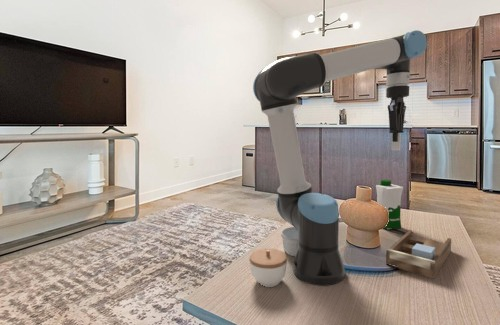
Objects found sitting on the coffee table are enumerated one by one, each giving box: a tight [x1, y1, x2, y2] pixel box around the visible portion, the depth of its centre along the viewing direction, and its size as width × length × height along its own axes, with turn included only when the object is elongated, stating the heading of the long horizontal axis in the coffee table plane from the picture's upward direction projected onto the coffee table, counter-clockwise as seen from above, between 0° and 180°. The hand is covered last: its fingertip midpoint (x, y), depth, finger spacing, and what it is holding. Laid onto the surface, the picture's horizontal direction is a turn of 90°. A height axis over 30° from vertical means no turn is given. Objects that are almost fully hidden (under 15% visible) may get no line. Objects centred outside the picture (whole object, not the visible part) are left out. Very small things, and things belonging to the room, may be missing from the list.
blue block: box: [412, 243, 435, 260], centre depth 86 cm, size 5×5×4 cm
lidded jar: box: [249, 248, 288, 288], centre depth 82 cm, size 11×11×9 cm
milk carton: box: [375, 179, 404, 230], centre depth 122 cm, size 9×9×20 cm
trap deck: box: [385, 229, 452, 279], centre depth 93 cm, size 13×24×5 cm, turn 135°
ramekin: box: [280, 226, 299, 257], centre depth 102 cm, size 13×13×7 cm
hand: (395, 150), depth 106 cm, fingers closed
